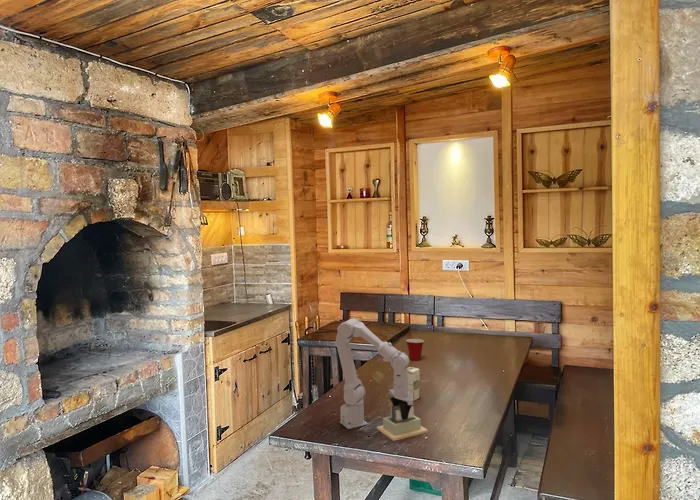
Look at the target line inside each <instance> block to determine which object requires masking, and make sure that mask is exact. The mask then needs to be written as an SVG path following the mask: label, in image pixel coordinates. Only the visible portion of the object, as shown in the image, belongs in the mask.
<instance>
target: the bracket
mask: <svg viewBox="0 0 700 500" xmlns="http://www.w3.org/2000/svg"><path fill="white" fill-rule="evenodd" d="M414 415H415V413H414V406H413V405H412V406H411V408H410V411H409V415H408V419H405V420H403V419H402V414H401V408H400V406H399V405H396V406H393V405H392V406H390V416H391V421H392V422H393V423H395V424H397V423H401V422H406V421H410V420H414Z"/></svg>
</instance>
